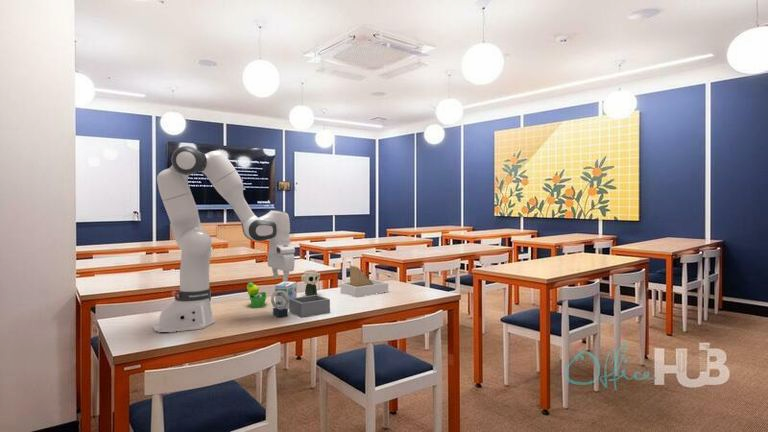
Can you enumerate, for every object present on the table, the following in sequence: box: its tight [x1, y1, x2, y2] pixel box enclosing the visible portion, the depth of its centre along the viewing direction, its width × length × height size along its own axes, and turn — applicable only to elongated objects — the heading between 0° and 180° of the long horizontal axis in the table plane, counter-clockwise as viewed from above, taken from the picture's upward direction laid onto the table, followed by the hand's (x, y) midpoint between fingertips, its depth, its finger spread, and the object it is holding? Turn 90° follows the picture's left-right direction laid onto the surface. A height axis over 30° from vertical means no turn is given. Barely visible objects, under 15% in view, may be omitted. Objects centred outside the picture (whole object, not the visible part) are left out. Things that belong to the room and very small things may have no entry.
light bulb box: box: [274, 281, 298, 309], centre depth 218 cm, size 11×7×11 cm, turn 168°
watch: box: [270, 290, 290, 319], centre depth 200 cm, size 6×8×11 cm
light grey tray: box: [340, 278, 389, 298], centre depth 249 cm, size 21×15×5 cm
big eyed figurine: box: [301, 269, 321, 296], centre depth 241 cm, size 11×7×13 cm, turn 129°
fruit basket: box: [246, 282, 267, 309], centre depth 219 cm, size 11×9×11 cm
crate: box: [288, 294, 331, 319], centre depth 206 cm, size 14×12×6 cm
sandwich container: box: [349, 264, 374, 287], centre depth 249 cm, size 9×15×15 cm, turn 123°
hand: (280, 279), depth 199 cm, fingers open, 8 cm apart
